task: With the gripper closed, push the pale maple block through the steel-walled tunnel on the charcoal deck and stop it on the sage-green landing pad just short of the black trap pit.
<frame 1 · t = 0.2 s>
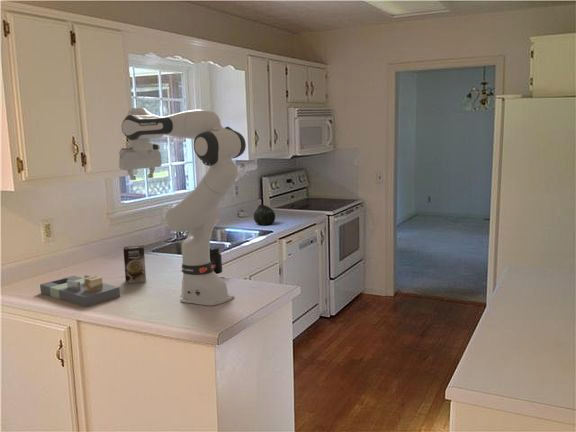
hand: (142, 178, 232), 47 cm above the worktop, fingers open, 8 cm apart
maple block: (94, 289, 221), point 4 cm above the worktop, touching tunnel deck
supplement bottle: (215, 272, 257), on the worktop
tunnel deck: (79, 294, 228), on the worktop
squash: (264, 224, 381), on the worktop
coffee box: (136, 281, 246), on the worktop
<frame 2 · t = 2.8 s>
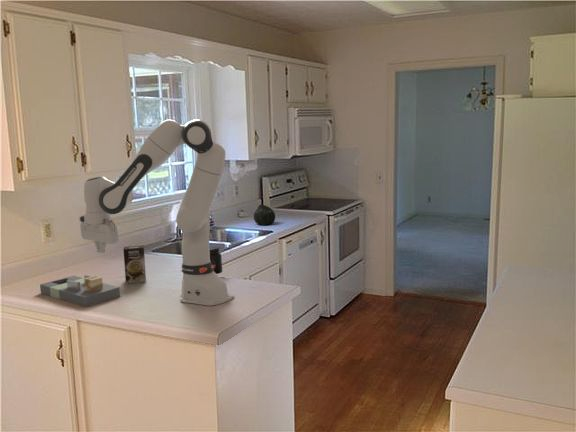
hand: (101, 252, 214), 21 cm above the worktop, fingers closed
nothing on the worktop moved.
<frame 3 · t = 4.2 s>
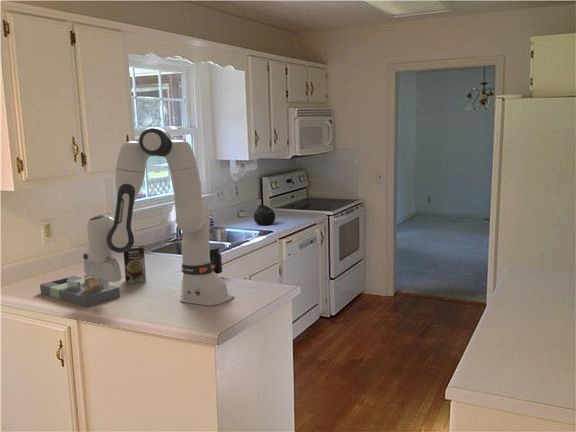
hand: (104, 289, 217), 5 cm above the worktop, fingers closed
nothing on the worktop moved.
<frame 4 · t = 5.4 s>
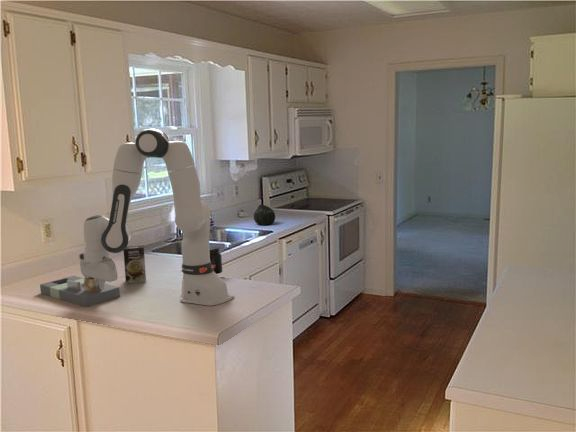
hand: (100, 288, 218), 5 cm above the worktop, fingers closed
maple block: (93, 289, 221), point 4 cm above the worktop, touching gripper, tunnel deck
everything else where it was.
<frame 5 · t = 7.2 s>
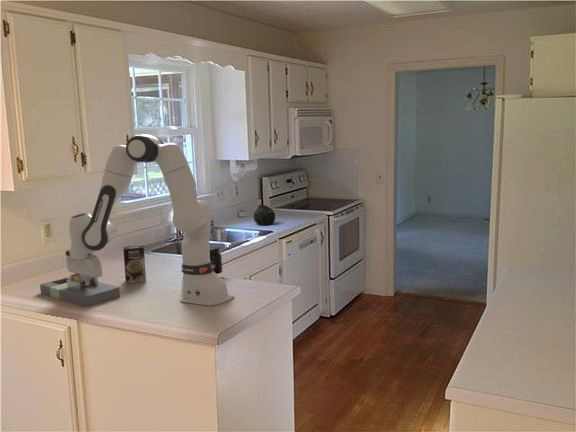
hand: (85, 284, 224), 5 cm above the worktop, fingers closed
maple block: (79, 285, 227), point 4 cm above the worktop, touching gripper
everything else where it was.
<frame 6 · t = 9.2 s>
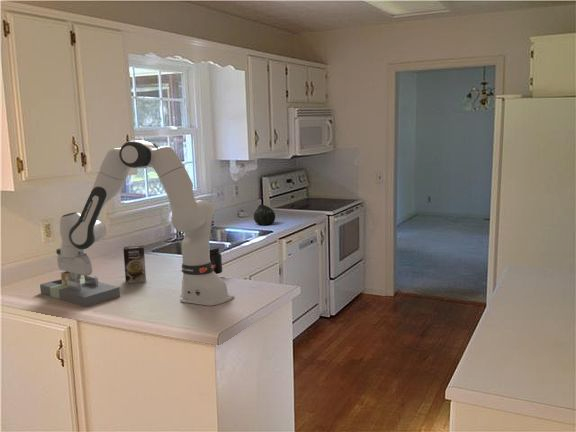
hand: (76, 282, 228), 5 cm above the worktop, fingers closed
maple block: (70, 283, 231), point 4 cm above the worktop, touching gripper, tunnel deck
everything else where it was.
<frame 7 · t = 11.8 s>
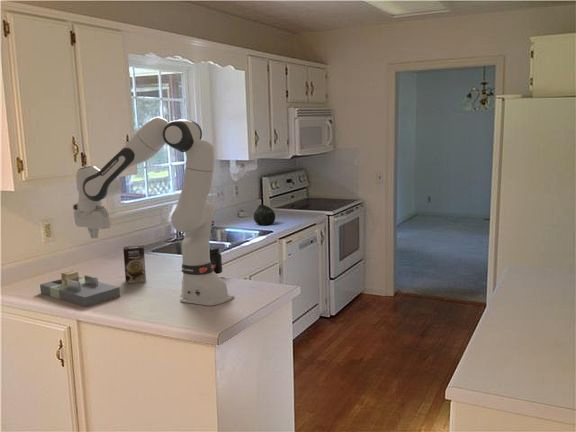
hand: (94, 238, 226), 24 cm above the worktop, fingers closed
maple block: (70, 283, 232), point 4 cm above the worktop, touching tunnel deck
everything else where it was.
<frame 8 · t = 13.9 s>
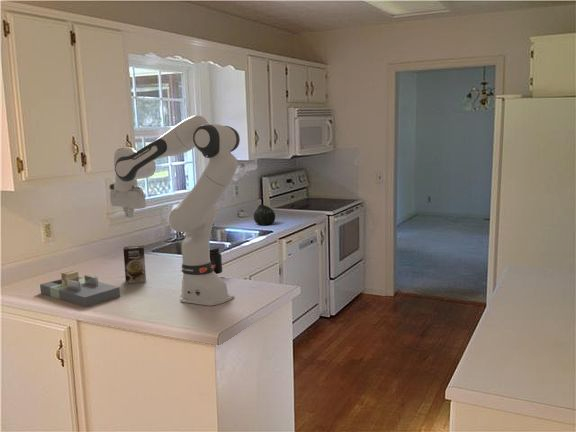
hand: (129, 217, 232), 31 cm above the worktop, fingers closed
nothing on the worktop moved.
at the end: maple block inside the target area on the tunnel deck (1.0 cm from its centre), point 4.0 cm above the tunnel deck's base; maple block tilted 0°; the gripper is holding nothing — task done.
